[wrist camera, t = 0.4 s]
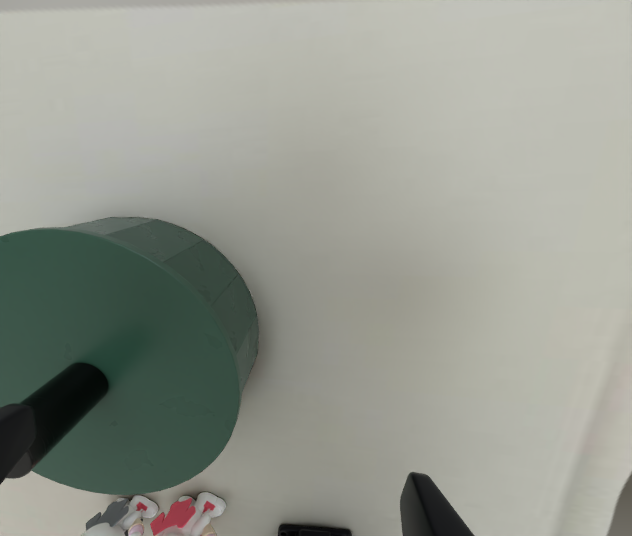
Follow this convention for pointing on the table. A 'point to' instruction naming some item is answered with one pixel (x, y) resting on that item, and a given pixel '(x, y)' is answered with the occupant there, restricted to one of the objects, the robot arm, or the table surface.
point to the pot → (195, 275)
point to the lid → (112, 363)
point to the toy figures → (172, 532)
